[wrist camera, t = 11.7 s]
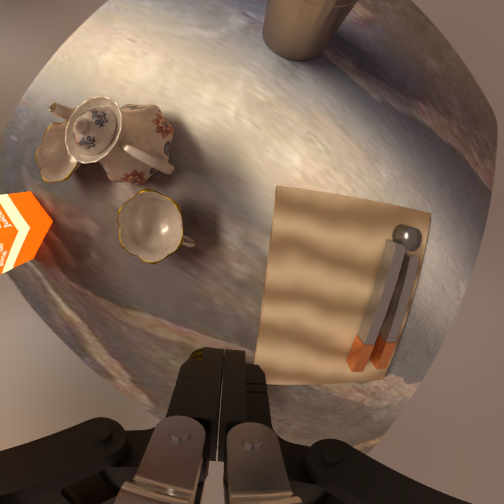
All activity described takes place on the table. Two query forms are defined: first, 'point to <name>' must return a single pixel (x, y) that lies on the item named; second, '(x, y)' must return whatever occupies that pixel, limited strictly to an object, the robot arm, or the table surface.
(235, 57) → the table surface
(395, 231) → the tong free arm
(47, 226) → the orange juice
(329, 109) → the table surface
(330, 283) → the cutting board
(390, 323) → the tong fixed arm
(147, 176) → the chinaware
